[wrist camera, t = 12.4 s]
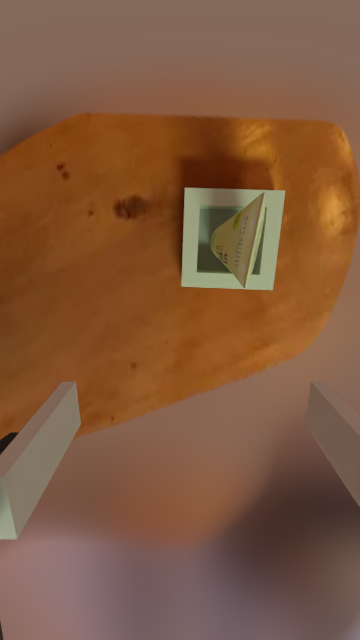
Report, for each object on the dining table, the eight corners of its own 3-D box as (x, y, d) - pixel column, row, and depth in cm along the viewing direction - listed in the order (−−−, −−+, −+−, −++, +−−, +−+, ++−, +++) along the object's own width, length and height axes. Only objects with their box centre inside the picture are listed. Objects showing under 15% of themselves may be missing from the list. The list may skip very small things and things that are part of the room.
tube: (200, 233, 41) (208, 229, 22) (230, 212, 40) (266, 189, 21) (220, 266, 42) (245, 289, 23) (250, 247, 41) (301, 254, 22)
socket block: (182, 281, 43) (181, 286, 39) (185, 193, 40) (184, 187, 36) (264, 285, 43) (272, 290, 39) (274, 195, 40) (285, 190, 35)
